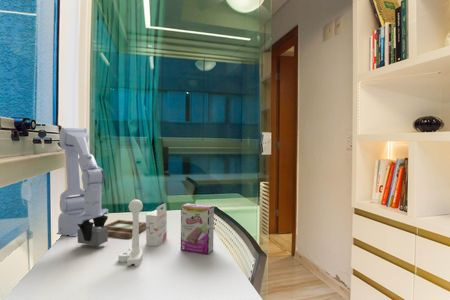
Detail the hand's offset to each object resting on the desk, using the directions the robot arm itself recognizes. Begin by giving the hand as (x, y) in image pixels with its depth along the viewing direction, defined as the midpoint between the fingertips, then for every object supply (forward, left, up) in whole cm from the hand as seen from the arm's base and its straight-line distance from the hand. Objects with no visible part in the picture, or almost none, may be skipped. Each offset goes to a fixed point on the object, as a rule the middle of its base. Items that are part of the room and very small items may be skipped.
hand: (93, 237), depth 105 cm
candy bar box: (+38, +8, -3) cm, 39 cm away
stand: (+1, +18, -3) cm, 18 cm away
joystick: (+20, -6, -3) cm, 21 cm away
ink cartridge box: (+20, +11, -3) cm, 23 cm away
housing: (0, 0, -2) cm, 2 cm away
